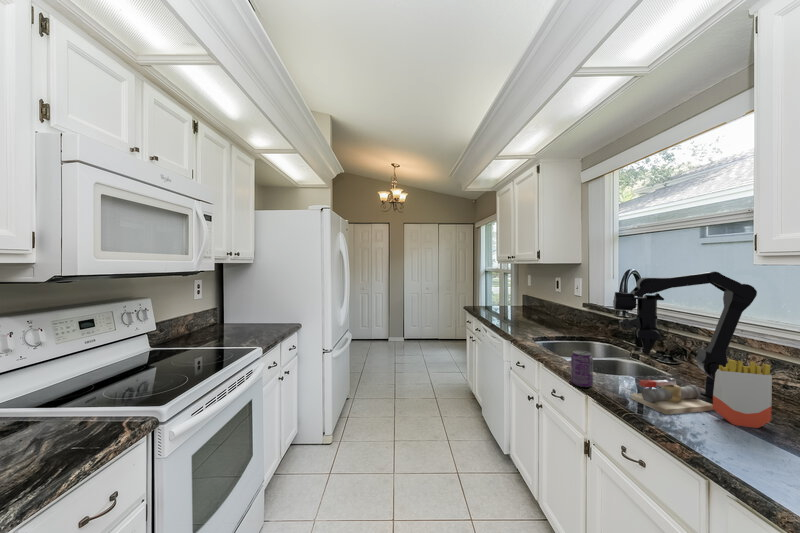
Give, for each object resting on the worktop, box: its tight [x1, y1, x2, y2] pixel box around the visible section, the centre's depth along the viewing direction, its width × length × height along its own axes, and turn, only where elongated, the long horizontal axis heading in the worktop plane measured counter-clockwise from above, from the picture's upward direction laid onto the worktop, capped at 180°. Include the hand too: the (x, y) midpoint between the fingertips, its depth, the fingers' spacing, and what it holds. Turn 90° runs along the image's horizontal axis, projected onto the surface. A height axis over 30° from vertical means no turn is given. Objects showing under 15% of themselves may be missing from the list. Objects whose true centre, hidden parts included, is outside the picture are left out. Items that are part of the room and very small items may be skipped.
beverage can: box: [570, 350, 594, 388], centre depth 122 cm, size 7×7×12 cm
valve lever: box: [638, 377, 677, 389], centre depth 105 cm, size 12×2×2 cm, turn 99°
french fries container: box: [712, 358, 773, 429], centre depth 93 cm, size 5×11×18 cm, turn 73°
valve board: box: [630, 384, 715, 415], centre depth 106 cm, size 18×12×6 cm, turn 101°
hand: (646, 354), depth 121 cm, fingers closed
